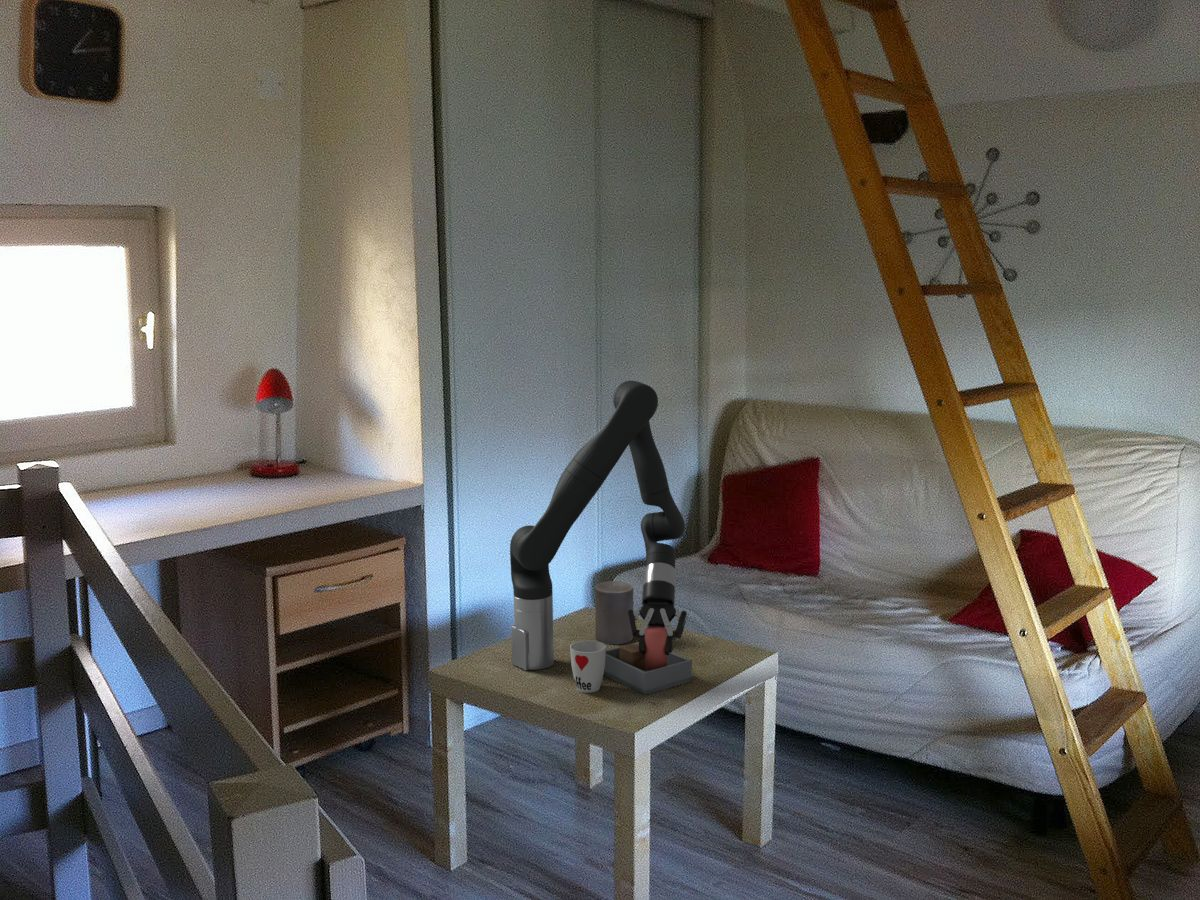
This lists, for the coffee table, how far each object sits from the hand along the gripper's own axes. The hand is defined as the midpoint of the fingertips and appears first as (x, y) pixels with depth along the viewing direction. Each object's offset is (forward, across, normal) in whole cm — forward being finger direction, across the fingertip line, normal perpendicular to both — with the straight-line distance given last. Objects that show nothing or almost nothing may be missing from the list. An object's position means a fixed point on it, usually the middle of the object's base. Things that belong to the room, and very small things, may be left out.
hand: (655, 653), depth 279 cm
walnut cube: (-1, -6, +10) cm, 12 cm away
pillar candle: (-16, -13, +27) cm, 34 cm away
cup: (+8, -15, +3) cm, 17 cm away
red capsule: (+2, 0, +4) cm, 5 cm away
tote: (+2, -3, +9) cm, 9 cm away
